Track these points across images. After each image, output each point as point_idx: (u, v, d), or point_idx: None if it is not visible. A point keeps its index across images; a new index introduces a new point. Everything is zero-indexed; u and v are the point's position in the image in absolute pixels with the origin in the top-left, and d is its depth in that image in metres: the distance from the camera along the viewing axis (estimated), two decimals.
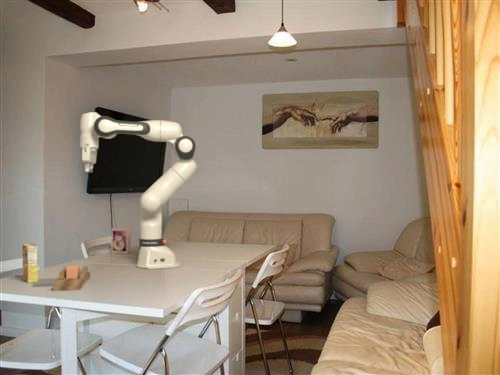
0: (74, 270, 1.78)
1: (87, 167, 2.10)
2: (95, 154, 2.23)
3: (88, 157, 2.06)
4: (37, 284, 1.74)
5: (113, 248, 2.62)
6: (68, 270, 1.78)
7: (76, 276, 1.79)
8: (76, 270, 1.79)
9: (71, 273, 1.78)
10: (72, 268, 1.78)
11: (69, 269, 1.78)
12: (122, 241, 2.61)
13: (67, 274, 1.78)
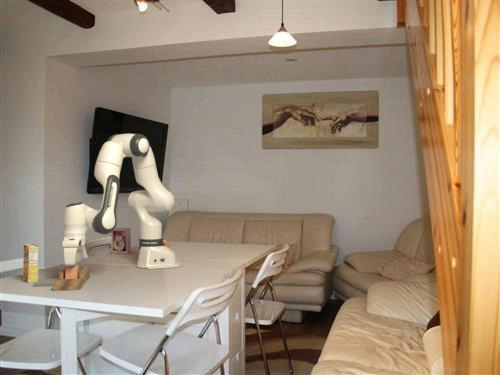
0: (73, 270, 1.77)
1: None
2: None
3: None
4: (37, 284, 1.74)
5: (113, 248, 2.62)
6: (67, 271, 1.77)
7: (75, 277, 1.78)
8: (75, 271, 1.78)
9: (70, 274, 1.77)
10: (71, 269, 1.77)
11: (68, 270, 1.77)
12: (122, 241, 2.61)
13: (66, 275, 1.77)
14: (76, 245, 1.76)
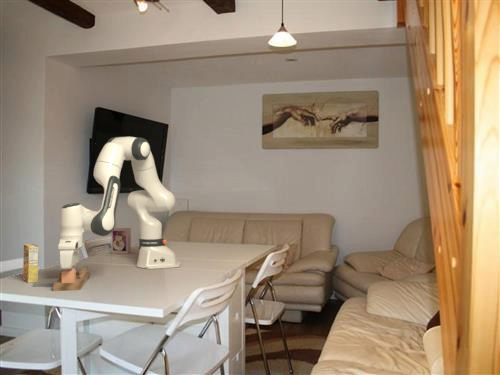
0: (69, 274, 1.70)
1: None
2: None
3: None
4: (37, 284, 1.74)
5: (113, 248, 2.62)
6: (63, 274, 1.70)
7: (72, 280, 1.71)
8: (72, 274, 1.71)
9: (66, 277, 1.70)
10: (67, 272, 1.70)
11: (64, 273, 1.70)
12: (122, 241, 2.61)
13: (62, 278, 1.70)
14: (73, 248, 1.69)
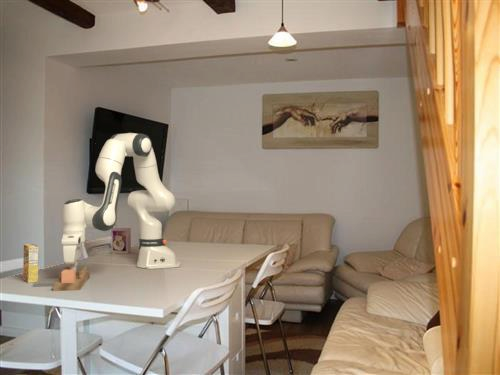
0: (69, 274, 1.70)
1: None
2: None
3: None
4: (37, 284, 1.74)
5: (113, 248, 2.62)
6: (63, 274, 1.70)
7: (72, 280, 1.71)
8: (72, 274, 1.71)
9: (66, 277, 1.70)
10: (67, 272, 1.70)
11: (64, 273, 1.70)
12: (122, 241, 2.61)
13: (62, 278, 1.70)
14: (75, 243, 1.73)
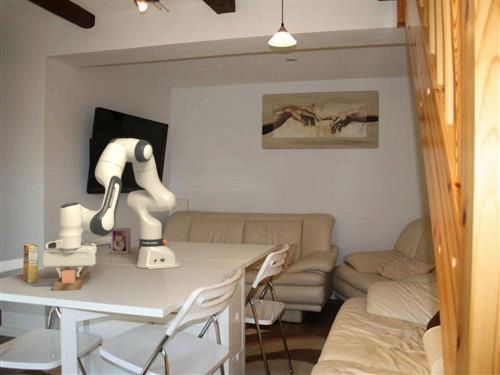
0: (69, 274, 1.70)
1: None
2: None
3: None
4: (37, 284, 1.74)
5: (113, 248, 2.62)
6: (64, 274, 1.70)
7: (72, 280, 1.71)
8: (72, 274, 1.71)
9: (67, 277, 1.70)
10: (68, 272, 1.70)
11: (65, 273, 1.70)
12: (122, 241, 2.61)
13: (63, 278, 1.70)
14: None
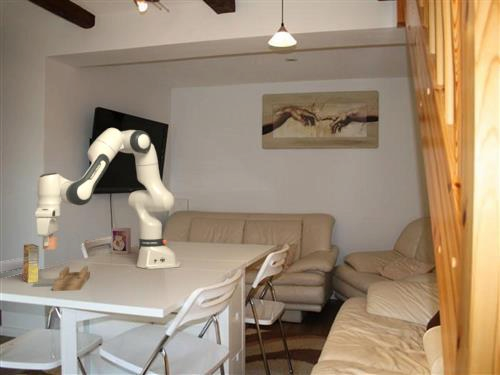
0: (56, 240, 1.80)
1: None
2: None
3: None
4: (37, 284, 1.74)
5: (113, 248, 2.62)
6: (54, 241, 1.78)
7: (56, 246, 1.81)
8: (56, 240, 1.81)
9: (55, 243, 1.79)
10: (55, 238, 1.80)
11: (55, 239, 1.78)
12: (122, 241, 2.61)
13: (54, 245, 1.78)
14: (49, 215, 1.71)
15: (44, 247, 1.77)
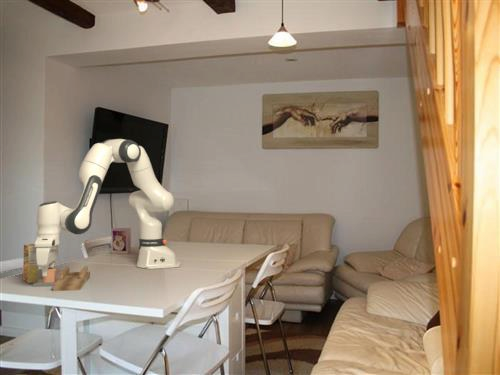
0: (55, 272, 1.80)
1: None
2: None
3: None
4: (37, 284, 1.74)
5: (113, 248, 2.62)
6: (54, 273, 1.78)
7: (56, 277, 1.81)
8: (56, 272, 1.81)
9: (55, 275, 1.79)
10: (55, 270, 1.80)
11: (55, 272, 1.79)
12: (122, 241, 2.61)
13: (54, 277, 1.78)
14: (49, 245, 1.71)
15: (44, 280, 1.77)
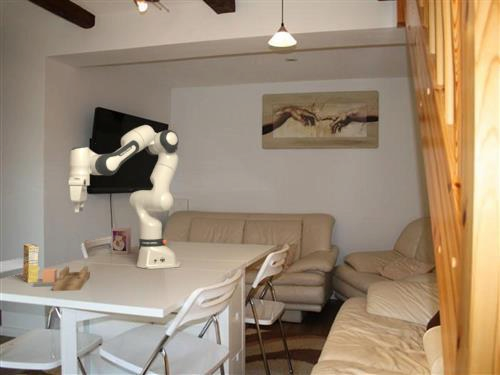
0: (55, 272, 1.80)
1: None
2: None
3: None
4: (37, 284, 1.74)
5: (113, 248, 2.62)
6: (54, 273, 1.78)
7: (56, 277, 1.81)
8: (56, 272, 1.81)
9: (55, 275, 1.79)
10: (55, 270, 1.80)
11: (55, 272, 1.79)
12: (122, 241, 2.61)
13: (54, 277, 1.78)
14: (81, 183, 1.89)
15: (44, 280, 1.77)
